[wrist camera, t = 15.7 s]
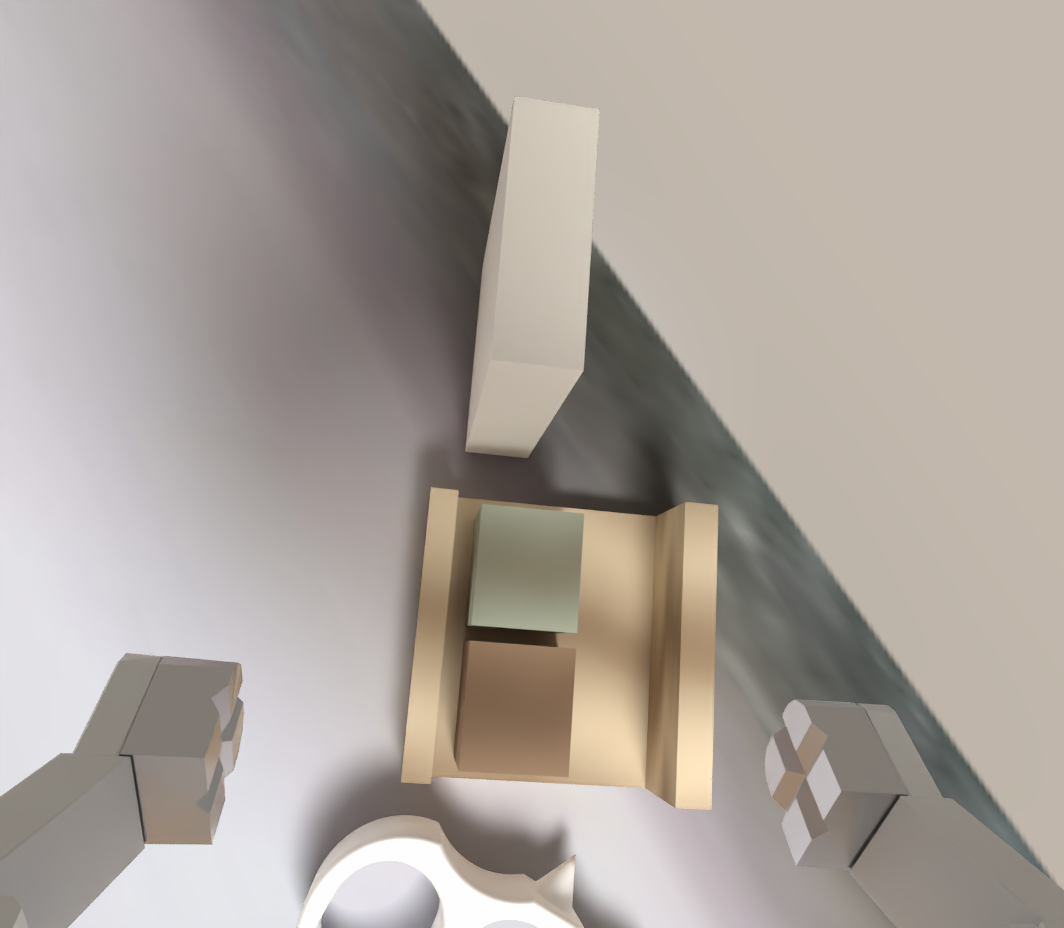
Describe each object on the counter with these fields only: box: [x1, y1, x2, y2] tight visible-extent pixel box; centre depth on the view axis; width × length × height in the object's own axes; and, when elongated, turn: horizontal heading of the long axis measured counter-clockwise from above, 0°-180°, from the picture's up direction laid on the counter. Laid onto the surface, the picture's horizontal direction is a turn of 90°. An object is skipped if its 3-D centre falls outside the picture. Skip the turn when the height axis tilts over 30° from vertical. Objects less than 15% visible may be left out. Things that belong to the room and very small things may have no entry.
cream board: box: [465, 96, 600, 458], centre depth 28 cm, size 8×2×11 cm, turn 176°
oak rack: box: [401, 487, 718, 810], centre depth 29 cm, size 10×10×4 cm
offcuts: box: [453, 504, 584, 777], centre depth 28 cm, size 8×4×4 cm, turn 176°
